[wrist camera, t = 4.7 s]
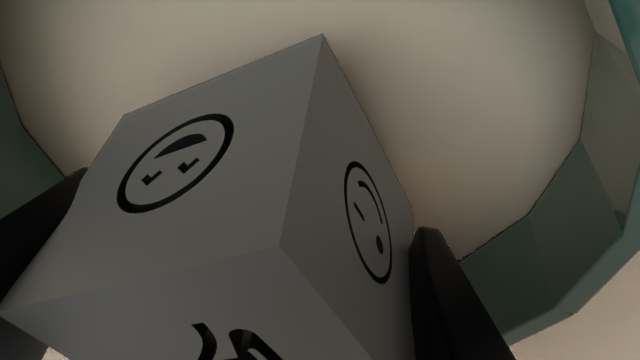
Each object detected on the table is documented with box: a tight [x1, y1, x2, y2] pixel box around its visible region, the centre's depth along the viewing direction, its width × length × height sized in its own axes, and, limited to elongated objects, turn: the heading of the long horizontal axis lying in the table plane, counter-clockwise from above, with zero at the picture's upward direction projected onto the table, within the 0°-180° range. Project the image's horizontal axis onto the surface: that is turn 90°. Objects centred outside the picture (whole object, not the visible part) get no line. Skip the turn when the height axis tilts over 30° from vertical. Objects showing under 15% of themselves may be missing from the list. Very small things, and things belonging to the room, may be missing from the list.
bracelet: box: [0, 0, 640, 347], centre depth 11 cm, size 15×15×3 cm
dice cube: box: [0, 34, 416, 360], centre depth 10 cm, size 5×5×5 cm
